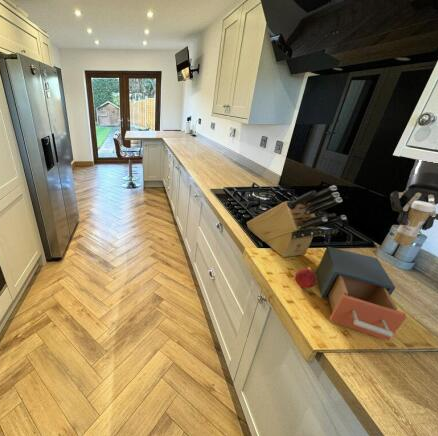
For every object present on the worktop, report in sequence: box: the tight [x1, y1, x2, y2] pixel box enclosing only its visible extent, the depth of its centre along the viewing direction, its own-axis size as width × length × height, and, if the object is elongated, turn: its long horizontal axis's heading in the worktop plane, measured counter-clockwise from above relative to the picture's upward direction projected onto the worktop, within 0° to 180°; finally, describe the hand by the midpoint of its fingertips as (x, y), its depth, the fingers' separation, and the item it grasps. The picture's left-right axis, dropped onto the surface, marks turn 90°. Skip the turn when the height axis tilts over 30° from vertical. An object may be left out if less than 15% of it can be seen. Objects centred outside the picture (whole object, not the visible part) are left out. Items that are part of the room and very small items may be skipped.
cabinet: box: [315, 246, 396, 301], centre depth 76 cm, size 16×14×11 cm
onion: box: [294, 266, 317, 289], centre depth 77 cm, size 6×6×8 cm
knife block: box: [246, 185, 347, 258], centre depth 95 cm, size 11×35×31 cm, turn 12°
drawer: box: [328, 274, 408, 342], centre depth 65 cm, size 20×13×9 cm, turn 152°
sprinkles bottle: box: [391, 201, 437, 246], centre depth 71 cm, size 5×5×14 cm
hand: (413, 226), depth 70 cm, fingers closed on sprinkles bottle, 4 cm apart
